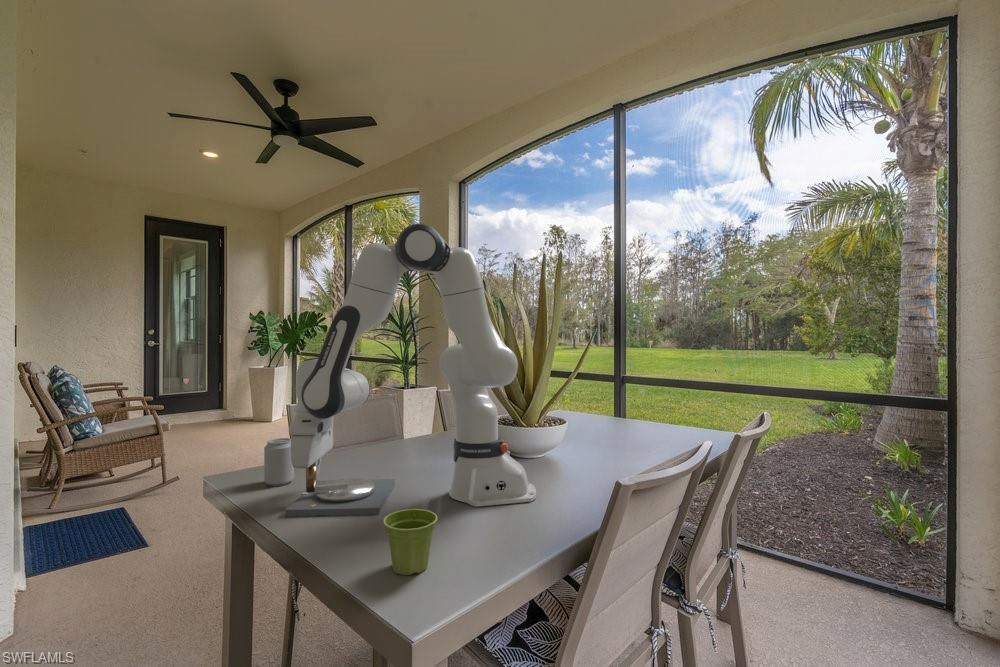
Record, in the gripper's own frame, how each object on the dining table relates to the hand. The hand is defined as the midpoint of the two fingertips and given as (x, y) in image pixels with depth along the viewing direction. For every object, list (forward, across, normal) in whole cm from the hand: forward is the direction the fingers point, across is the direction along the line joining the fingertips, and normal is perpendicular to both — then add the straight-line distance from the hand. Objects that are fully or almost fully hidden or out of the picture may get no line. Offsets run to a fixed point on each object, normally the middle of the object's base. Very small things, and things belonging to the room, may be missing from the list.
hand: (314, 476), depth 116 cm
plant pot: (+6, +36, +29) cm, 46 cm away
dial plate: (+6, +1, +8) cm, 10 cm away
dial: (+4, +1, +7) cm, 8 cm away
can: (+6, -14, -14) cm, 20 cm away
